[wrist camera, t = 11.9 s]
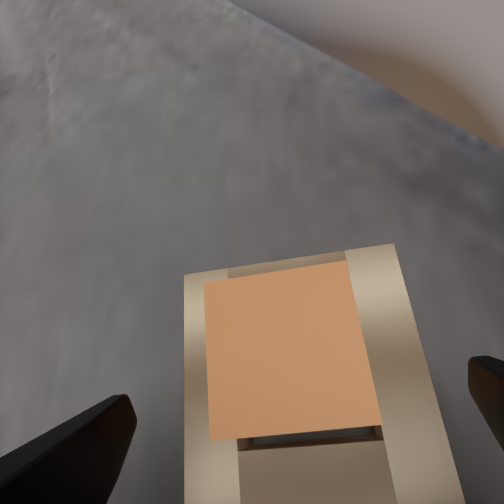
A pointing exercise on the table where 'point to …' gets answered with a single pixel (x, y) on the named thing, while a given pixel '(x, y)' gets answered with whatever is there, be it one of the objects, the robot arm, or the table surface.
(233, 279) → the square bit
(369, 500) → the socket block
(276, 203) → the table surface
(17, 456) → the robot arm
